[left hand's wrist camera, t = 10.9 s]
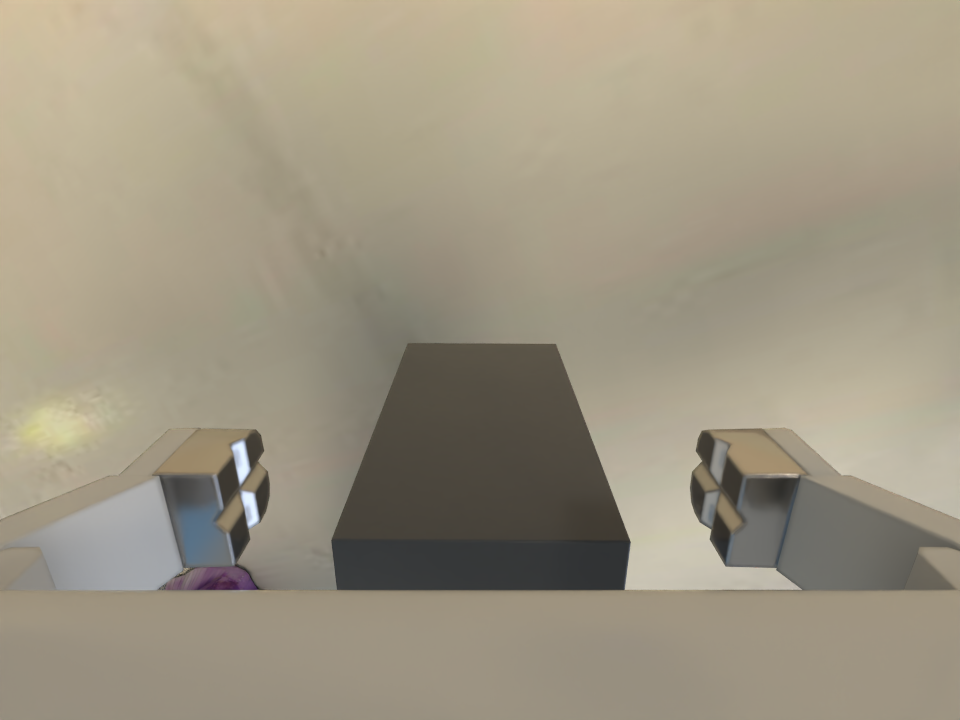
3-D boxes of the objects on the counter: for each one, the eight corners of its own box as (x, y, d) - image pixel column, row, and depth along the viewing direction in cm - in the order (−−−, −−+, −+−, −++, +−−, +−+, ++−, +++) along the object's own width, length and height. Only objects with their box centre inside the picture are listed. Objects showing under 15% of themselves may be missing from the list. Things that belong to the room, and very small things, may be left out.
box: (407, 342, 23) (330, 540, 11) (556, 343, 23) (631, 542, 11) (427, 769, 32) (397, 1108, 21) (531, 770, 32) (558, 1109, 21)
